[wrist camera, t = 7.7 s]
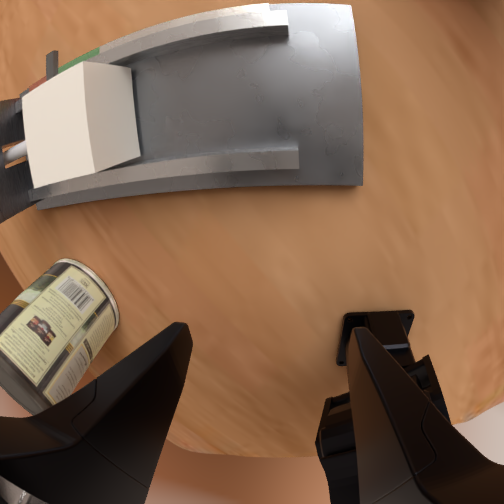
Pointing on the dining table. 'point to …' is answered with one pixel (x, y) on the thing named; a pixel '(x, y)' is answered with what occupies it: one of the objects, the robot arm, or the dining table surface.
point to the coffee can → (54, 334)
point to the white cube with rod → (77, 122)
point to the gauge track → (221, 107)
